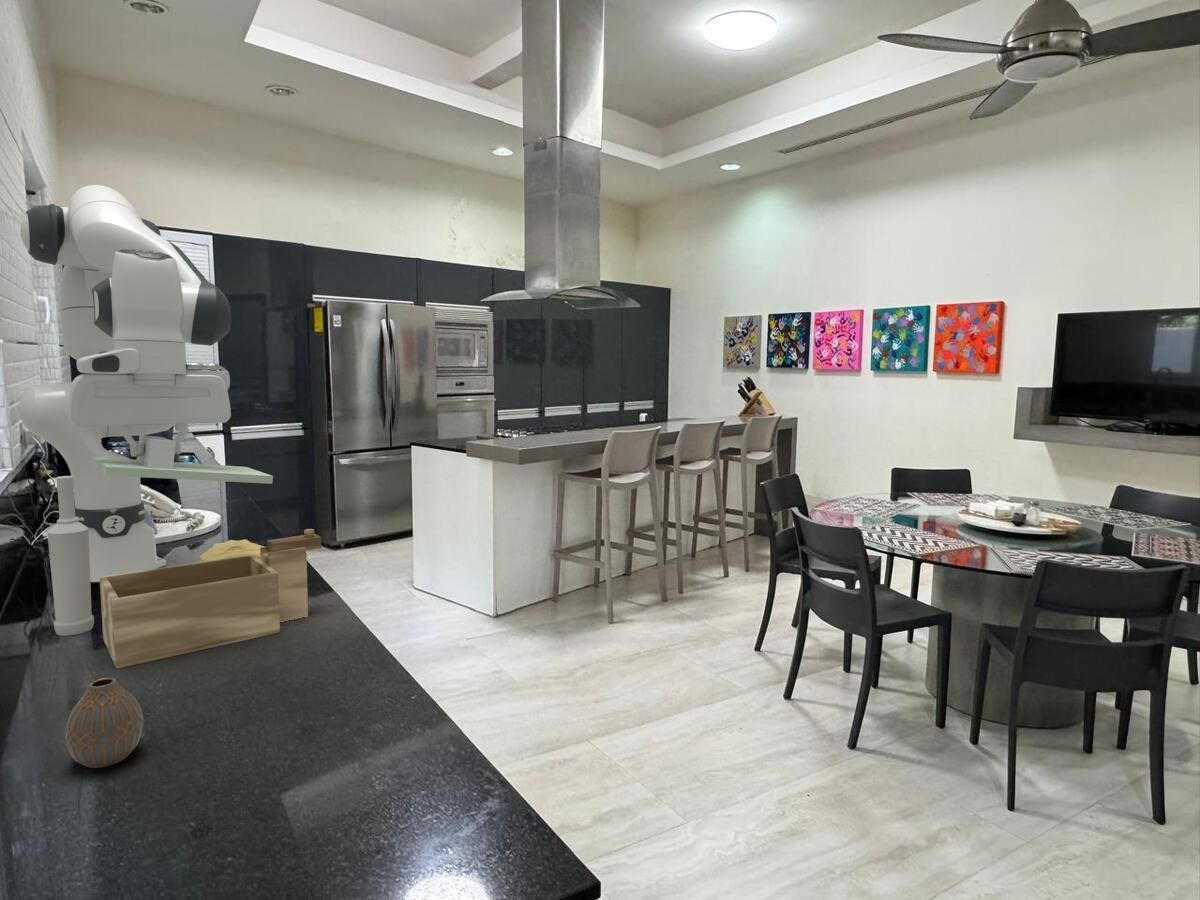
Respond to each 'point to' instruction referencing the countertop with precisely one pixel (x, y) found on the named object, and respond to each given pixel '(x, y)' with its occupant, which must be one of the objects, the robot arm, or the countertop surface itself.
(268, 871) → the countertop surface
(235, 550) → the sculpture
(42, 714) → the countertop surface
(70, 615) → the bottle
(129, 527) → the robot arm
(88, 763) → the vase
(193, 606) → the toolbox
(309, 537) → the wooden knobbed block
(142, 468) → the lid
